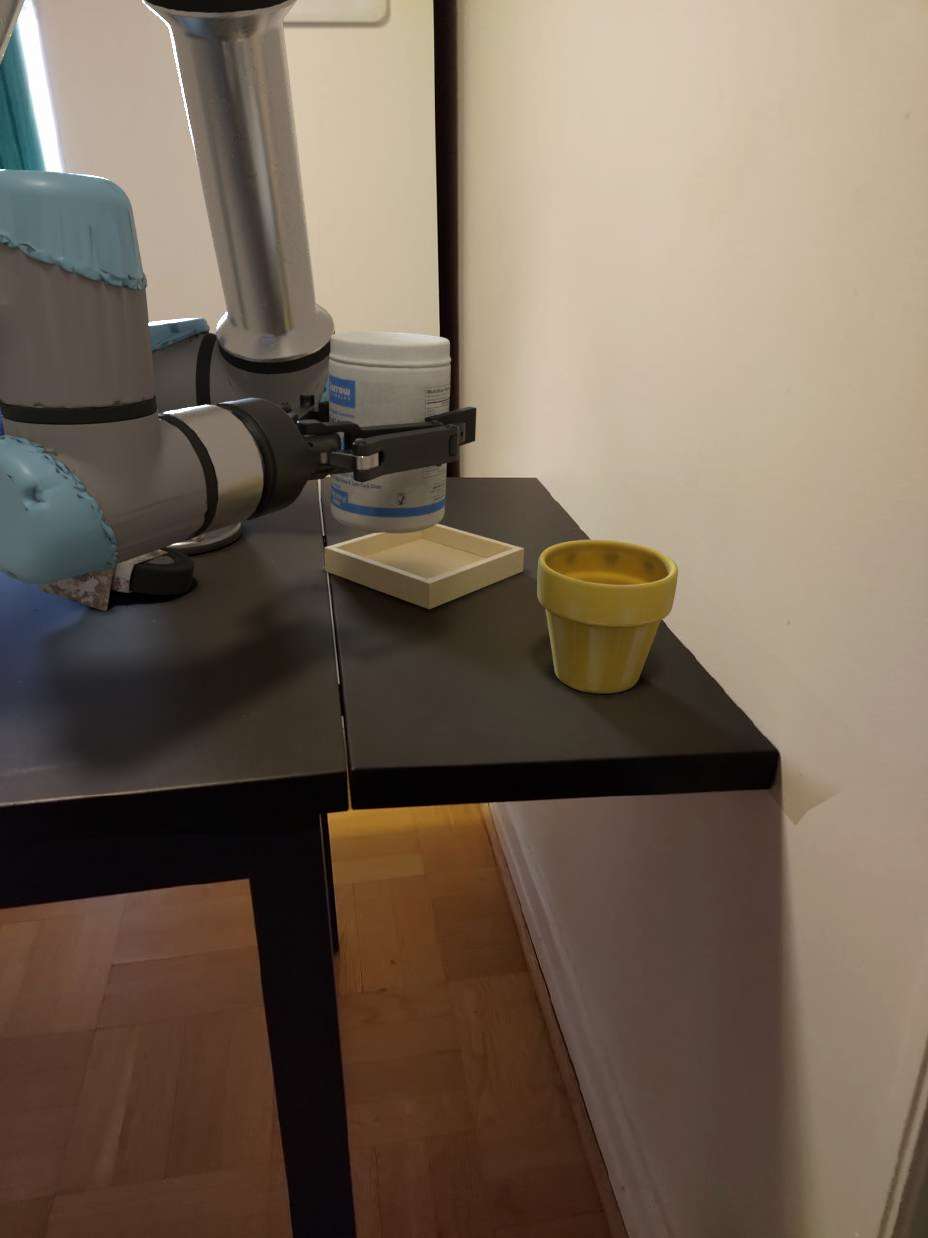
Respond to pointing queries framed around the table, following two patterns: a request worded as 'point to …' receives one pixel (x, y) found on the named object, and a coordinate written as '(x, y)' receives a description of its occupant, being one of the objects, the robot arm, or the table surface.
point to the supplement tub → (384, 395)
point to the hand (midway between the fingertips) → (419, 416)
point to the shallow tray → (424, 563)
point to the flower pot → (603, 609)
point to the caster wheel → (129, 579)
